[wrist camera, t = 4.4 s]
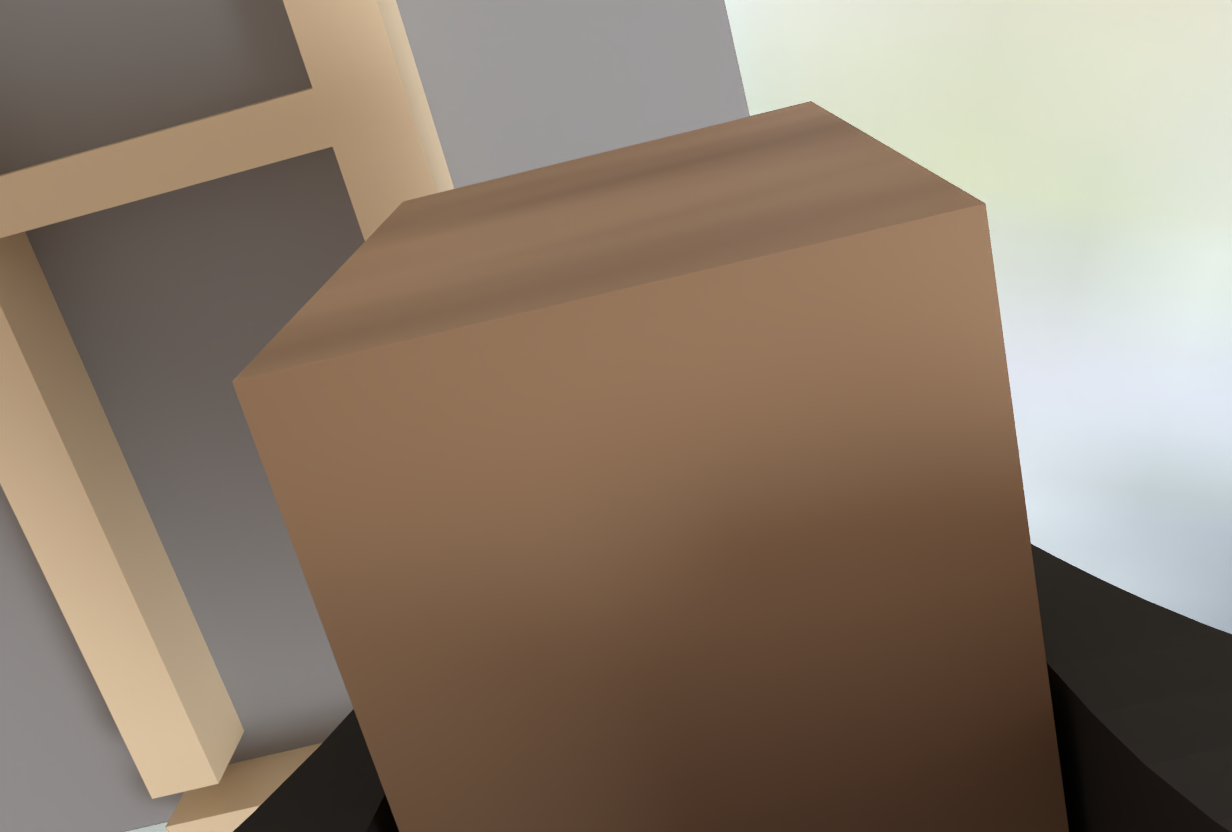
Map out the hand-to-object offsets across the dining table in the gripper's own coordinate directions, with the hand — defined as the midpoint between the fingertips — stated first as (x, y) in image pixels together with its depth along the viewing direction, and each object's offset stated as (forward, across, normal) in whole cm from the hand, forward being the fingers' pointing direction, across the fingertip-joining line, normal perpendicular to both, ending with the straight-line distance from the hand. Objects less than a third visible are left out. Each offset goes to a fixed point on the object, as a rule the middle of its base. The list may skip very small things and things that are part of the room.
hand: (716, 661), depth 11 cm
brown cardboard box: (+2, 0, 0) cm, 2 cm away
